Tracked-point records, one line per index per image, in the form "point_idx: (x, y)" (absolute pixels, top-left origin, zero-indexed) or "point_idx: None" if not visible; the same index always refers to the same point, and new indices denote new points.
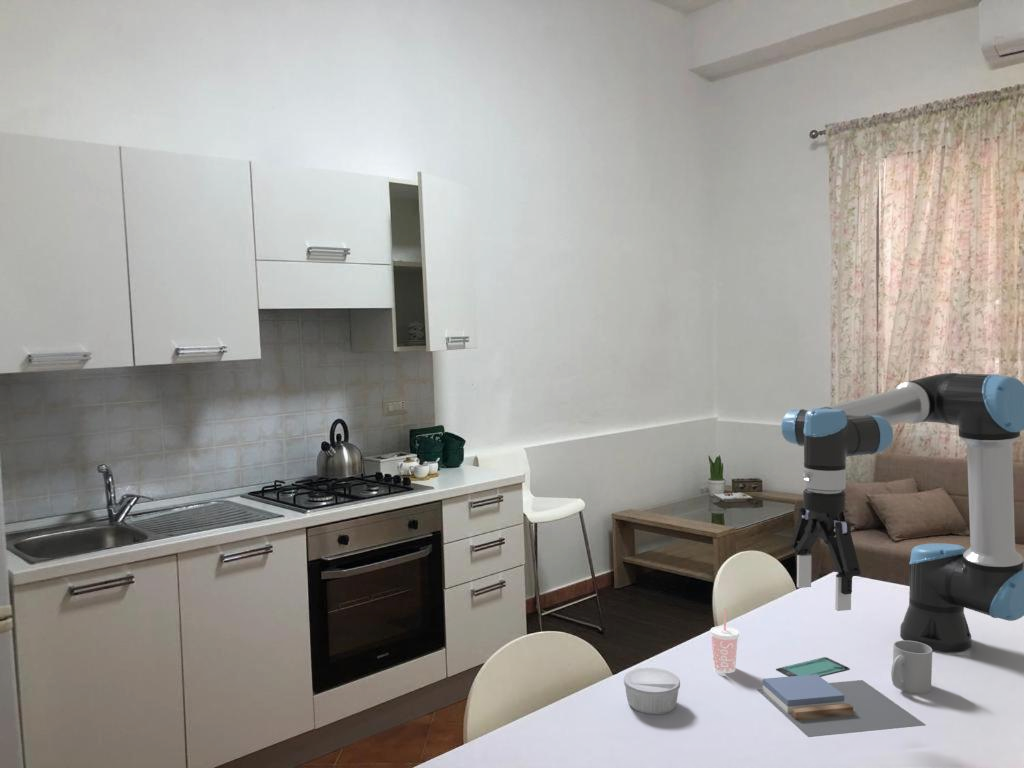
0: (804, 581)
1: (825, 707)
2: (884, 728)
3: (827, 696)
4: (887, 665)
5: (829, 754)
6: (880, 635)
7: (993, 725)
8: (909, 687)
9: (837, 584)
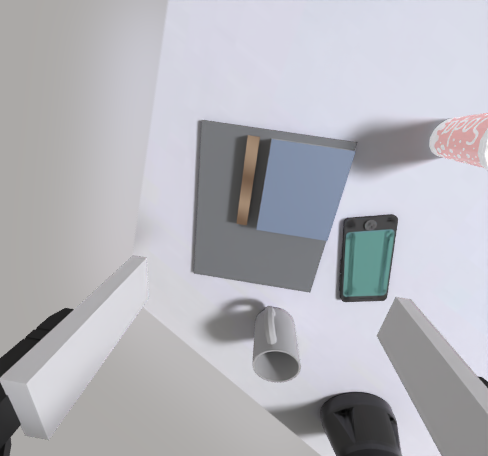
0: (399, 334)
1: (246, 188)
2: (197, 228)
3: (261, 206)
4: (332, 341)
5: (163, 122)
6: (398, 387)
7: (185, 325)
8: (262, 315)
9: (57, 332)
